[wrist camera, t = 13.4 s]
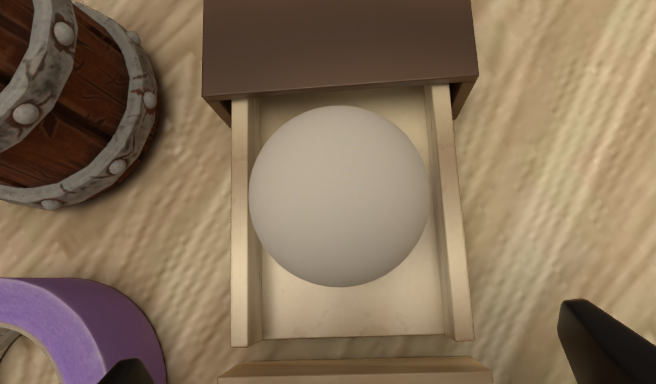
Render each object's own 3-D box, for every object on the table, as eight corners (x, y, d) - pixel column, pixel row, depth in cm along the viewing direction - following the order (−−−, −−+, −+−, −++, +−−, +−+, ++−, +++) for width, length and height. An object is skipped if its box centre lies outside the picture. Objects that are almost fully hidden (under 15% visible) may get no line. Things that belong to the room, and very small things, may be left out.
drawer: (484, 483, 20) (509, 528, 16) (241, 484, 21) (214, 526, 17) (442, 60, 24) (454, 21, 20) (241, 76, 25) (220, 41, 21)
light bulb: (343, 141, 22) (323, 32, 13) (435, 218, 21) (492, 163, 11) (264, 228, 22) (178, 185, 12) (353, 312, 21) (339, 339, 11)
